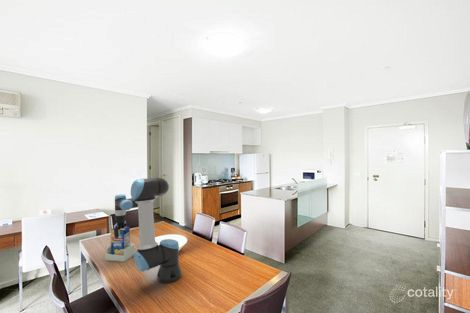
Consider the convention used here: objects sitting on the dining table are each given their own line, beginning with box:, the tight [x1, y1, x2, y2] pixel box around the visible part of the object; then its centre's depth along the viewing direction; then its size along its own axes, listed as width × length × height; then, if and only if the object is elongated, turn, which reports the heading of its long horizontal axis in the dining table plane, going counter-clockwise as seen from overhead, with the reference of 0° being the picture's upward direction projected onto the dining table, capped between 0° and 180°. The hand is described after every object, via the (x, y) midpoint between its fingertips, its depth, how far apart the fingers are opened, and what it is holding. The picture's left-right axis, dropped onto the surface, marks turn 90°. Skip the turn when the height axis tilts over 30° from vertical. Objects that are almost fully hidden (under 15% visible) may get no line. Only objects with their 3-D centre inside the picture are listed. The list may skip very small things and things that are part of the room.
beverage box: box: [110, 226, 131, 256], centre depth 164 cm, size 7×11×22 cm, turn 82°
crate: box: [104, 243, 136, 263], centre depth 164 cm, size 16×13×9 cm
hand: (120, 244), depth 164 cm, fingers open, 2 cm apart
